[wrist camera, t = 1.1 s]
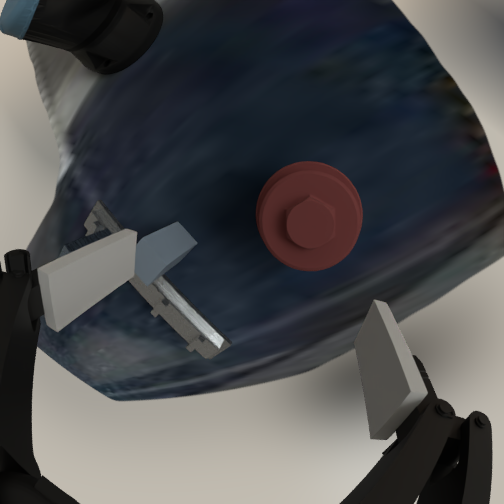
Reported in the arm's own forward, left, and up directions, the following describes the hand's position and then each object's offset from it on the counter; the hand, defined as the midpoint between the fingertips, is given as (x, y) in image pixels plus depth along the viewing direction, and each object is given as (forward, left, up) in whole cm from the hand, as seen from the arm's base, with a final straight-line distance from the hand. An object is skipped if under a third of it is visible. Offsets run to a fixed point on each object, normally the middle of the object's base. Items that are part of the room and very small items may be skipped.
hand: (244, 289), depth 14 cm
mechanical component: (+1, +4, -21) cm, 21 cm away
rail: (-6, -20, -21) cm, 30 cm away
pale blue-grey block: (-7, -12, -21) cm, 25 cm away
